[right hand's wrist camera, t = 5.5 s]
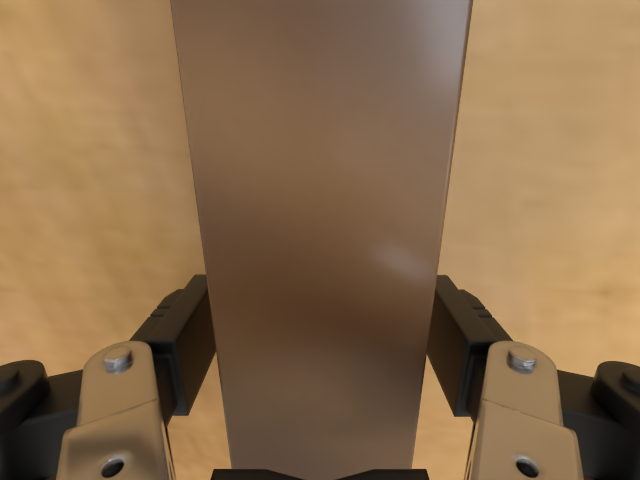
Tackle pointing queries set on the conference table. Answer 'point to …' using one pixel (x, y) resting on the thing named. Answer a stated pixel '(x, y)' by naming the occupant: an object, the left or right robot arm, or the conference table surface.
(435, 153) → the post
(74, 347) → the conference table surface
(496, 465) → the right robot arm
